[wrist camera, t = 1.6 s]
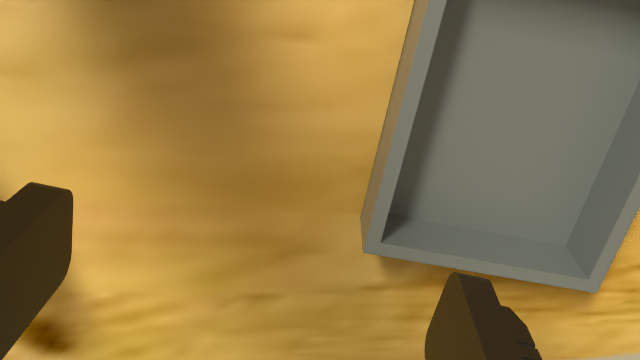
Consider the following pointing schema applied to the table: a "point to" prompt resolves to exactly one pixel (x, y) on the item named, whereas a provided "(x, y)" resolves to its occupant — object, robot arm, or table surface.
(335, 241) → the table surface
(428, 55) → the tote
